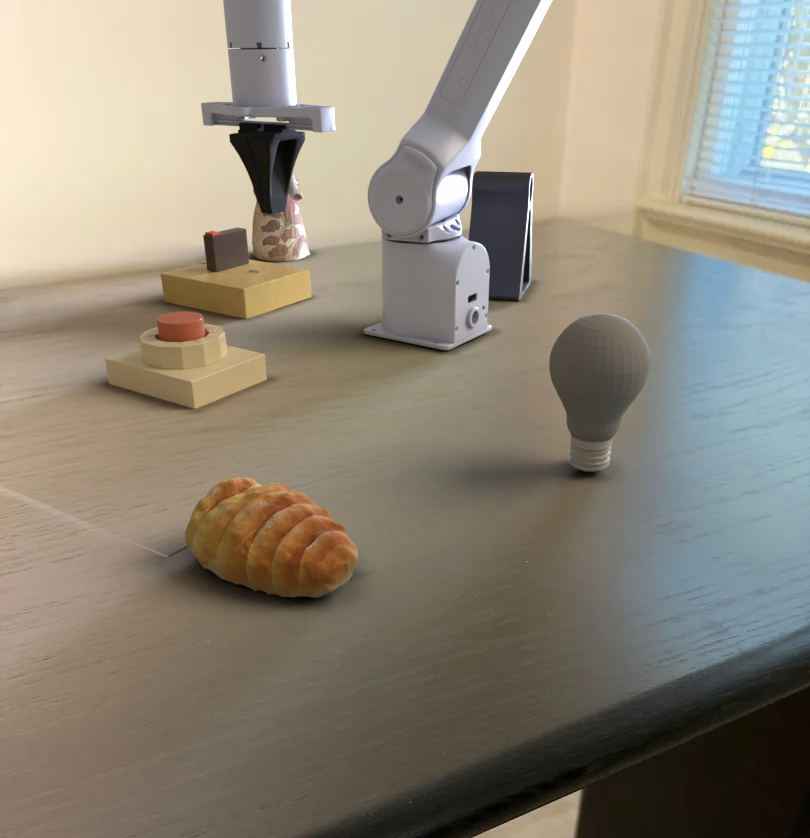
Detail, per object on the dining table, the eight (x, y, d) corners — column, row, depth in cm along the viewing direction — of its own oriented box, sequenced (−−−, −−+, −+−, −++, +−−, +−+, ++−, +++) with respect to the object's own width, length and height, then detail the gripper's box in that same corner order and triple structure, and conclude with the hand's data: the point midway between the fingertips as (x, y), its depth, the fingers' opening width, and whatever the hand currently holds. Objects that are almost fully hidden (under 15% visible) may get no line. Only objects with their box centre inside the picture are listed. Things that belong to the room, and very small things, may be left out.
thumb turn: (240, 261, 97) (236, 224, 95) (249, 263, 96) (246, 226, 94) (206, 270, 93) (202, 232, 92) (216, 272, 93) (211, 233, 91)
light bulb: (571, 442, 61) (584, 296, 56) (652, 465, 58) (673, 312, 53) (523, 471, 57) (533, 317, 52) (607, 498, 54) (626, 335, 49)
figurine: (316, 258, 112) (310, 155, 106) (260, 263, 110) (251, 158, 104) (300, 247, 118) (294, 149, 112) (247, 252, 115) (238, 152, 109)
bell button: (215, 337, 71) (212, 315, 70) (181, 348, 68) (178, 326, 67) (184, 330, 73) (181, 308, 72) (150, 341, 70) (146, 319, 69)
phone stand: (518, 301, 93) (525, 179, 87) (463, 298, 95) (465, 177, 89) (531, 281, 101) (538, 167, 95) (480, 278, 102) (483, 166, 96)
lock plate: (311, 297, 95) (309, 267, 94) (246, 319, 88) (243, 287, 87) (227, 282, 102) (224, 253, 100) (160, 301, 94) (156, 271, 93)
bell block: (267, 379, 73) (263, 331, 71) (194, 409, 67) (188, 358, 65) (183, 358, 78) (177, 313, 76) (108, 384, 72) (100, 336, 70)
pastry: (389, 567, 47) (387, 502, 45) (300, 626, 42) (294, 558, 40) (264, 516, 52) (257, 457, 50) (173, 565, 47) (162, 501, 45)
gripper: (169, 49, 78) (189, 211, 85) (292, 49, 71) (303, 226, 78) (226, 48, 83) (241, 200, 90) (347, 48, 76) (353, 214, 83)
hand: (273, 212), depth 84 cm, fingers closed
